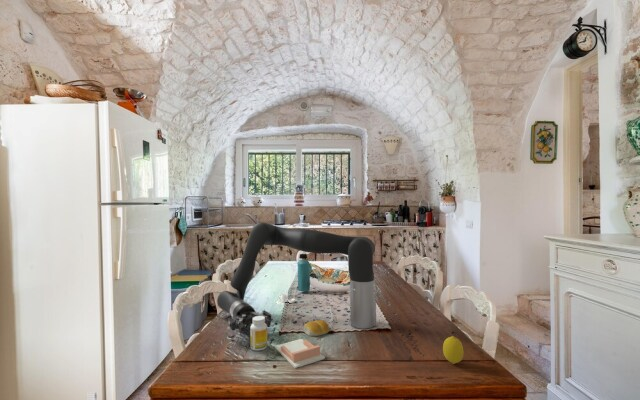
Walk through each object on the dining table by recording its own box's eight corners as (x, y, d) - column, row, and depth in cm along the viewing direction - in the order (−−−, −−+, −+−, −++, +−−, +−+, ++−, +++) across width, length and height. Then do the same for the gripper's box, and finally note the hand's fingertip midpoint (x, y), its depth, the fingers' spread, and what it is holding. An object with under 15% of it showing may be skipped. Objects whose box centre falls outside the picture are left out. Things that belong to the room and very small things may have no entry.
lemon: (439, 359, 94) (439, 332, 94) (457, 358, 95) (457, 331, 95) (448, 369, 89) (448, 341, 89) (467, 368, 89) (467, 340, 89)
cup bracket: (274, 347, 103) (274, 338, 103) (301, 340, 108) (301, 331, 108) (295, 368, 90) (295, 357, 90) (324, 358, 95) (324, 348, 95)
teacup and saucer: (297, 302, 149) (297, 293, 149) (287, 307, 143) (287, 298, 143) (283, 299, 154) (283, 291, 154) (272, 304, 147) (272, 295, 147)
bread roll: (333, 332, 114) (333, 321, 114) (312, 339, 110) (312, 327, 110) (320, 325, 121) (320, 314, 121) (300, 330, 116) (300, 320, 116)
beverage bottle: (308, 294, 160) (308, 255, 160) (296, 294, 161) (295, 254, 161) (311, 291, 166) (311, 253, 166) (299, 290, 168) (298, 252, 168)
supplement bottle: (247, 349, 102) (246, 319, 102) (257, 342, 107) (257, 314, 107) (260, 352, 100) (260, 322, 100) (270, 345, 105) (270, 316, 105)
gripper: (222, 306, 115) (235, 320, 101) (260, 299, 123) (276, 311, 109) (223, 326, 115) (235, 343, 101) (260, 318, 123) (277, 333, 109)
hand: (257, 327), depth 105 cm, fingers open, 8 cm apart
